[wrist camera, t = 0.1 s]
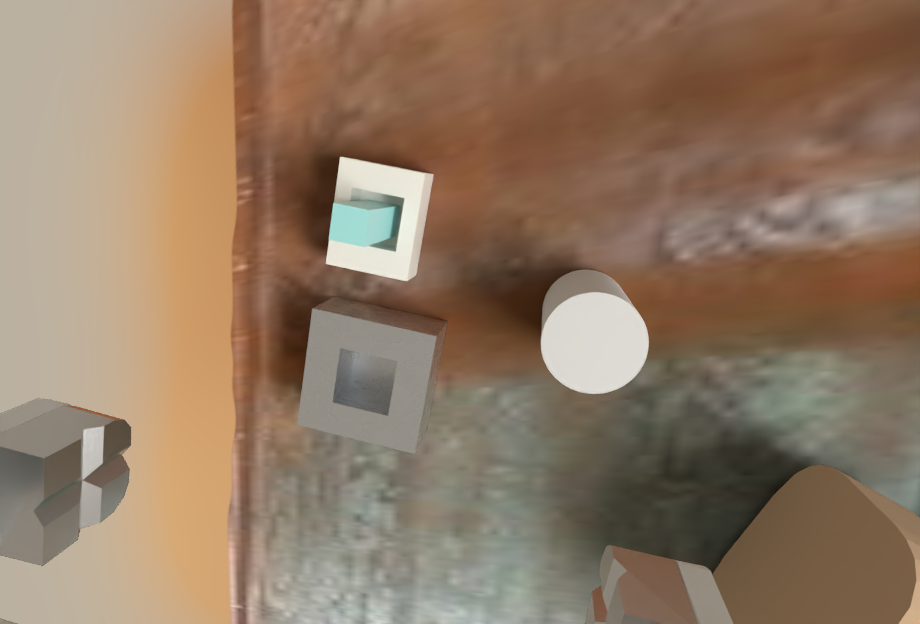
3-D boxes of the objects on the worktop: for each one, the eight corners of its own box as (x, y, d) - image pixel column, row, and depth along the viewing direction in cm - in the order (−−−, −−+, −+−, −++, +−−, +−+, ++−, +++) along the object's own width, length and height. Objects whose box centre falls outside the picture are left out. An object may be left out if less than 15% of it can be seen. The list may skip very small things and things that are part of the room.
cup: (531, 336, 57) (527, 375, 46) (557, 259, 55) (559, 278, 44) (611, 361, 57) (627, 407, 45) (639, 284, 55) (664, 310, 43)
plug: (370, 199, 56) (333, 202, 46) (400, 205, 56) (369, 210, 46) (365, 230, 57) (328, 239, 47) (395, 236, 56) (363, 247, 47)
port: (335, 296, 60) (312, 308, 54) (447, 321, 58) (436, 336, 53) (320, 402, 62) (297, 424, 57) (427, 428, 61) (414, 453, 55)
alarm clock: (765, 638, 61) (879, 876, 40) (686, 592, 61) (758, 805, 40) (896, 489, 55) (1106, 673, 35) (808, 439, 56) (965, 593, 35)
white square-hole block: (354, 158, 56) (340, 156, 52) (433, 174, 55) (425, 173, 52) (340, 258, 59) (325, 263, 55) (416, 274, 58) (406, 281, 54)
